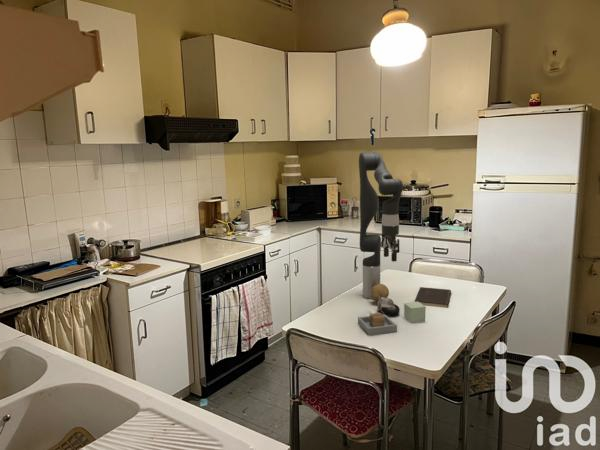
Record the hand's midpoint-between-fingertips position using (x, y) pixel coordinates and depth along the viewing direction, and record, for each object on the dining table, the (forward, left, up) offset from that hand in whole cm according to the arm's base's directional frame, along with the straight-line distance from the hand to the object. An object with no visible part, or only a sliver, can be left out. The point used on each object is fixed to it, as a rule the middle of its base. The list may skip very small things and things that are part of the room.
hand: (390, 258), depth 206 cm
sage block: (+5, +10, -28) cm, 30 cm away
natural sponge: (-19, +3, -28) cm, 34 cm away
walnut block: (+9, -10, -27) cm, 30 cm away
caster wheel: (-6, +2, -28) cm, 29 cm away
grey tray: (+9, -10, -28) cm, 31 cm away
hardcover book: (-17, +32, -29) cm, 46 cm away
